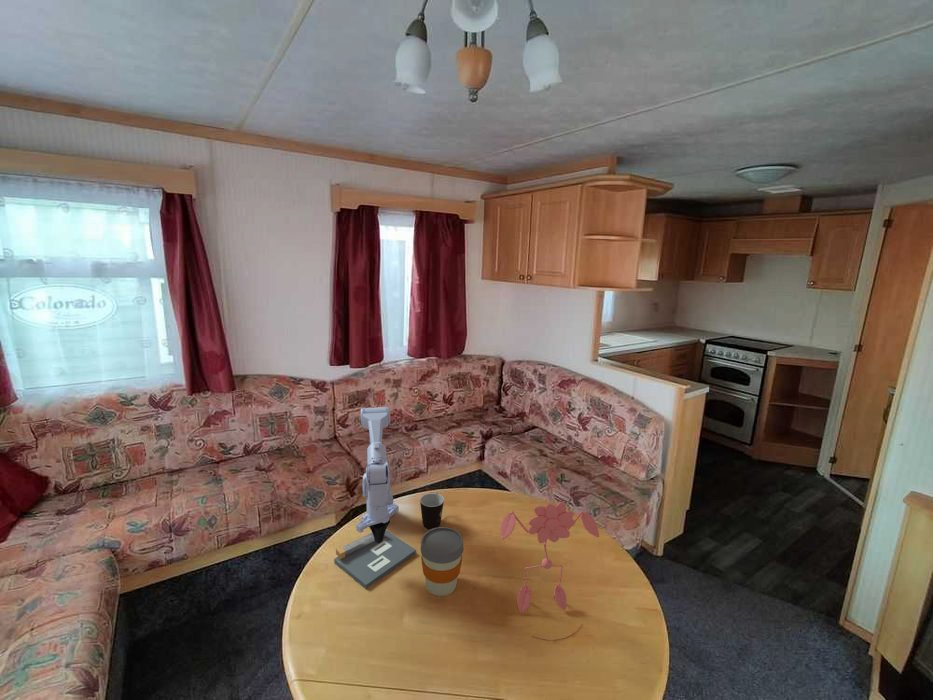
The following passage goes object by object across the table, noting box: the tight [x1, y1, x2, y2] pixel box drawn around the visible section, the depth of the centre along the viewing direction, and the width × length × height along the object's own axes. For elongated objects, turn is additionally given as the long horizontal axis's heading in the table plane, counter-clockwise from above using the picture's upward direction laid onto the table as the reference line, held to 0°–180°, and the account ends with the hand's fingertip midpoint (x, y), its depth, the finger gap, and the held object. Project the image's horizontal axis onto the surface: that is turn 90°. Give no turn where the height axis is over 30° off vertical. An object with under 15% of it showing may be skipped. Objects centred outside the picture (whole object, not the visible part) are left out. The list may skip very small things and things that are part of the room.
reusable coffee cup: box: [420, 526, 465, 597], centre depth 123 cm, size 13×13×15 cm
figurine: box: [499, 501, 600, 643], centre depth 110 cm, size 15×26×35 cm, turn 93°
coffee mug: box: [419, 492, 445, 531], centre depth 152 cm, size 12×9×10 cm
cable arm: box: [335, 532, 375, 559], centre depth 136 cm, size 15×3×2 cm, turn 133°
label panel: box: [333, 529, 417, 590], centre depth 133 cm, size 20×16×4 cm
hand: (378, 541), depth 128 cm, fingers closed
